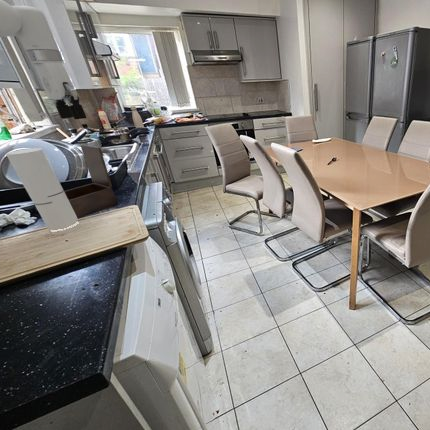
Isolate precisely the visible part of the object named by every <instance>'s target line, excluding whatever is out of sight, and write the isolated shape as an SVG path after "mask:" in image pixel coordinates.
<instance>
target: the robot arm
mask: <svg viewBox="0 0 430 430" xmlns="http://www.w3.org/2000/svg"><path fill="white" fill-rule="evenodd" d="M5 37H6V38H7V37H19V38H20V40H21V43H22V44H23V47H24V49H25V51H26V53H27V55H28V57H29V59H30V62H31V64H32V65H34V66H35V70H36V72H37V75H38V78H39V80H40V82H41V83H40V84H41V85H42V88H43V90H44V92H45V95H46V97H47V98H48V99H50V100H52V102H53V104H54V106H55V108H56V110H57V112H58V114H59V117H60V119H71V118H73V119H74V120H84V119H87V115H86V112H85V110H84V108H83V105H82V102H81V100H80V97H79V95H78V91H77V89H76V87H75V85H74V82H73V80H72V78H71V76H70V73H69V72H68V70H67V68H66V66H65V65H64V64H66V61H65V59H64V57H63V54H62V52H61V49H60V46H59V45H58V42H57V39H56V38H55V35H54V33H53V30H52V28H51V25H50V24H49V21H48V19H47V16H46V15H45V13H44V12H43V10H41V9H40V8H38V7H36V6H35V7H34V6H30V5H22V4H21V5H18V4H17V5H16V4H15V5H10V4H9V3H8V2H7V1H6V0H0V38H5Z"/></svg>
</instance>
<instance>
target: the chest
mask: <svg viewBox="0 0 430 430" xmlns="http://www.w3.org/2000/svg"><path fill="white" fill-rule="evenodd" d="M64 192H65V194H66V196H67V198H68V200H69V202H70V204H71V206H72V208H73V210H74V212H75V214H76V216H77V218H78V219H80V218H83V217H86V216H89V215H91V214H94V213H97V212H100V211H103V210H105V209H108V208H111V207H113V206H116V205H119V202H118V199H117V197H116V195H115V192H114V189H113V188H112V187H109V186H105V185H102V184H98V183H94V182H92V183H88V184H85V185H82V186H78V187H74V188H71V189H67V190H64Z"/></svg>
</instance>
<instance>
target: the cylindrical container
mask: <svg viewBox="0 0 430 430" xmlns="http://www.w3.org/2000/svg"><path fill="white" fill-rule="evenodd" d="M5 155H6V157H7V159H8V161H9V162H10V164H11V166H12V168H13V170H14V172H15V173H16V175H17V176H18V178H19V181H20V182H21V183H22V186H23V187H24V189H25V190H26V193H27V194H28V196H29V198H30V200H31V201H32V203H33V205H34V206H35V208H36V210H37V211H38V213H39V215H40V217H41V219H42V220H43V222H44V224H45V226H46V228H47V230H48V231H49V230H58V229H64V228H67V227H69V226H71V225H73V224H75V223H76V222H77V220H79V218H77V216H76V214H75V212H74V210H73V208H72V206H71V204H70V202H69V200H68V198H67V196H66V194H65V192H64V191H65V190H64V188H63V186H62V185H61V182H60V180H59V179H58V177H57V175H56V172H55V170H54V168H53V167H52V165H51V163H50V160H49V158H48V156H47V155H46V152H45V151H44V149H43V148H42V147H33V148H25V149H18V150H13V151H9V152H6V153H5ZM81 226H82V225H81V222H80V221H79V224H77V225H76V226H74V227H72V228H69V229H66V230H63V231H57V232H51V231H49V233H50V235H52V236H57V235H63V234H67V233H71V232H73V231H75V230H77V229H79V228H80V227H81Z"/></svg>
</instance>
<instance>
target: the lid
mask: <svg viewBox="0 0 430 430" xmlns="http://www.w3.org/2000/svg"><path fill="white" fill-rule="evenodd" d="M80 149H81V152H82V155H83V157H84V161H85V164H86V167H87V169H88V173H89V175H90V179H91V182H92V183H96V184H100V185H103V186H107V187H111V188H112V187H113V185H112V181H111V178H110V175H109V171H108V168H107V164H106V161H105V157H104V154H105V155H107V154H109V153H110V150H109V149H108V148H103V147H99V146H93V145H87V144H86V145H85V144H80Z"/></svg>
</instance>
